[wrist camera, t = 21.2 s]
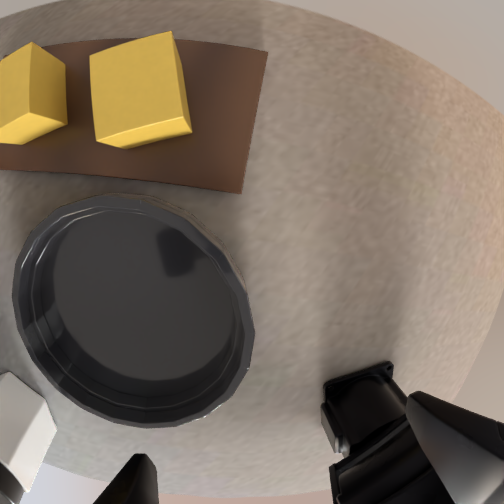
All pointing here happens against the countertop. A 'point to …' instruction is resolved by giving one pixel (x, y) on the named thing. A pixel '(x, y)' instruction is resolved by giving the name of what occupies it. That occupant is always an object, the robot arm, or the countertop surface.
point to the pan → (133, 310)
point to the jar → (21, 437)
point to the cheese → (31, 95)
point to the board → (164, 151)
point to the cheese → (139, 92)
